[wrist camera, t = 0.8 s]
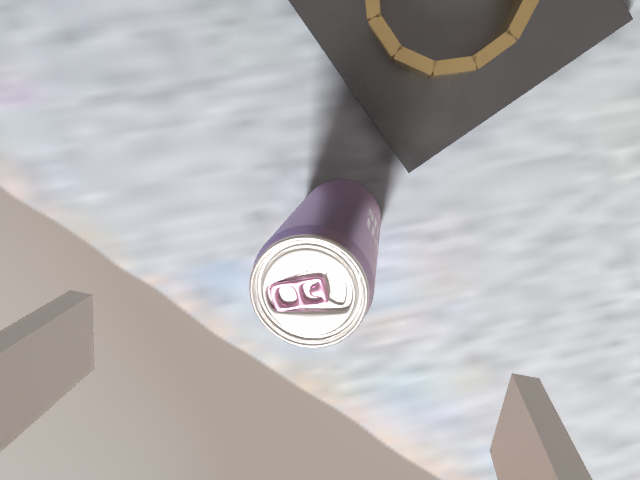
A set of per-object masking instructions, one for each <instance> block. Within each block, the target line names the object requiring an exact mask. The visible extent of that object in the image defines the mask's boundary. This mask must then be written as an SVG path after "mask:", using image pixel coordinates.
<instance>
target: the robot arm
mask: <svg viewBox="0 0 640 480" xmlns="http://www.w3.org/2000/svg"><path fill="white" fill-rule="evenodd" d="M93 369H94V343H93V307H92V294H87V293H82V292H76V291H71V290H70V291H68V292H66V293H65V294H63V295H61V296H60V297H58V298H56V299H55V300H53V301H51V302H49V303H48V304H46V305H44V306H42V307H41V308H39V309H37V310H35V311H34V312H32V313H30V314H29V315H27V316H25V317H23V318H22V319H20V320H18V321H17V322H15V323H13V324H12V325H10V326H8V327H6V328H5V329H3V330H1V331H0V452H1V451H2V450H3V449H4V448H5V447H7V446H8V445H9V444H10V443H11V442H12V441H13V440H14V439H16V438H17V437H18V436H19V435H20V434H21V433H22V432H24V430H25V429H27V428H28V427H29V426H30V425H31V424H32V423H34V422H35V421H36V420H37V419H38V418H39V417H40V416H41V415H43V414H44V413H45V412H46V411H47V410H48V409H49V408H50V407H52V405H54V404H55V403H56V402H57V401H58V400H59V399H61V398H62V397H63V396H64V395H65V394H66V393H67V392H68V391H70V390H71V389H72V388H73V387H74V386H75V385H76V384H77V383H79V382H80V381H81V380H82V379H83V378H84V377H85V376H86V375H87V374H89V373H90V372H91V371H92V370H93ZM490 453H491V457H492V460H493V464H494V468H495V471H496V475H497V478H498V480H592V478H591V476H590V474H589V473H588V471H587V469H586V467H585V465H584V463H583V461H582V459H581V457H580V455H579V454H578V452H577V450H576V448H575V446H574V444H573V442H572V440H571V438H570V436H569V434H568V433H567V431H566V429H565V427H564V425H563V423H562V421H561V419H560V417H559V415H558V414H557V412H556V410H555V408H554V406H553V404H552V402H551V400H550V398H549V396H548V395H547V393H546V391H545V389H544V387H543V385H542V383H541V381H540V379H539V378H534V377H528V376H523V375H518V374H512V375H511V378H510V382H509V385H508V389H507V392H506V396H505V399H504V403H503V406H502V409H501V413H500V416H499V420H498V423H497V427H496V430H495V434H494V437H493V441H492V444H491V448H490Z"/></svg>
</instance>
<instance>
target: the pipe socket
mask: <svg viewBox="0 0 640 480" xmlns="http://www.w3.org/2000/svg"><path fill="white" fill-rule="evenodd" d="M289 1H290V3H291V4H292V6H293V7H294V9H295V10H296V12H297V13H298V14H299V16H300V17H301V19H302V20H303V22H304V23H305V24H306V26H307V27H308V29H309V30H310V32H311V33H312V35H313V36H314V37H315V39H316V40H317V42H318V43H319V45H320V46H321V48H322V49H323V50H324V52H325V53H326V55H327V56H328V58H329V59H330V60H331V62H332V63H333V65H334V66H335V68H336V69H337V71H338V72H339V73H340V75H341V76H342V78H343V79H344V81H345V82H346V83H347V85H348V86H349V88H350V89H351V91H352V92H353V94H354V95H355V96H356V98H357V99H358V101H359V102H360V104H361V105H362V106H363V108H364V109H365V111H366V112H367V114H368V115H369V117H370V118H371V119H372V121H373V122H374V124H375V125H376V127H377V128H378V130H379V131H380V132H381V134H382V135H383V137H384V138H385V140H386V141H387V142H388V144H389V145H390V147H391V148H392V150H393V151H394V153H395V154H396V155H397V157H398V158H399V160H400V161H401V163H402V164H403V165H404V167H405V168H406V170H407V171H408V173H410V172H411V171H413V170H414V169H415V168H417V167H418V166H420V165H421V164H423V163H424V162H426V161H427V160H429V159H430V158H431V157H433V156H434V155H436V154H437V153H439V152H440V151H442V150H443V149H445V148H446V147H447V146H449V145H450V144H452V143H453V142H455V141H456V140H458V139H459V138H461V137H462V136H464V135H465V134H466V133H468V132H469V131H471V130H472V129H474V128H475V127H477V126H478V125H480V124H481V123H482V122H484V121H485V120H487V119H488V118H490V117H491V116H493V115H494V114H496V113H497V112H498V111H500V110H501V109H503V108H504V107H506V106H507V105H509V104H510V103H512V102H513V101H514V100H516V99H517V98H519V97H520V96H522V95H523V94H525V93H526V92H528V91H529V90H531V89H532V88H533V87H535V86H536V85H538V84H539V83H541V82H542V81H544V80H545V79H547V78H548V77H549V76H551V75H552V74H554V73H555V72H557V71H558V70H560V69H561V68H563V67H564V66H565V65H567V64H568V63H570V62H571V61H573V60H574V59H576V58H577V57H579V56H580V55H581V54H583V53H584V52H586V51H587V50H589V49H590V48H592V47H593V46H595V45H596V44H598V43H599V42H600V41H602V40H603V39H605V38H606V37H608V36H609V35H611V34H612V33H614V32H615V31H616V30H618V29H619V28H621V27H622V26H624V25H625V24H627V23H628V22H630V21H631V20H632V19H633V18H632V16H631V14H630V13H629V11H628V9H627V7H626V6H625V4H624V2H623V0H289Z"/></svg>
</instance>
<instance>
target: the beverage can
mask: <svg viewBox="0 0 640 480" xmlns="http://www.w3.org/2000/svg"><path fill="white" fill-rule="evenodd" d="M380 225H381V213H380V208H379V205H378V203H377V201H376V199H375V197H374V196H373V195H372V193H371V192H370V191H369V190H368V189H367V188H365V187H364V186H362V185H361V184H359V183H357V182H354V181H351V180H346V179H334V180H329V181H326V182H324V183H322V184H320V185H319V186H317V187H316V188H315V189H313V190H312V192H311V193H310V194H309V195H308V196H307V197H306V198H305V199H304V201H303V202H302V203H301V204H300V205H299V206H298V207H297V208H296V210H295V211H294V212H293V213H292V214H291V215H290V216H289V218H288V219H287V220H286V221H285V222H284V223H283V224H282V225H281V227H280V228H279V229H278V230H277V231H276V232H275V233H274V235H273V236H272V237H271V238H270V239H269V240H268V241H267V242H266V244H265V245H264V246H263V247H262V249H261V250H260V252H259V254H258V255H257V258H256V260H255V263H254V267H253V270H252V274H251V278H250V297H251V302H252V305H253V308H254V310H255V312H256V314H257V316H258V318H259V319H260V320H261V322H262V323H263V324H264V326H265V327H266V328H267V329H268V330H269V331H270V332H272V333H273V334H274V335H276V336H277V337H279V338H280V339H282V340H284V341H286V342H288V343H291V344H294V345H297V346H302V347H311V348H316V347H325V346H329V345H332V344H335V343H338V342H340V341H342V340H343V339H345V338H347V337H348V336H349V335H351V334H352V333H353V332H354V331H355V330H356V329H357V327H358V326H359V325H360V323H361V322H362V320H363V318H364V317H365V315H366V314H367V312H368V310H369V308H370V306H371V303H372V300H373V295H374V286H375V275H376V265H377V255H378V245H379V235H380Z"/></svg>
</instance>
